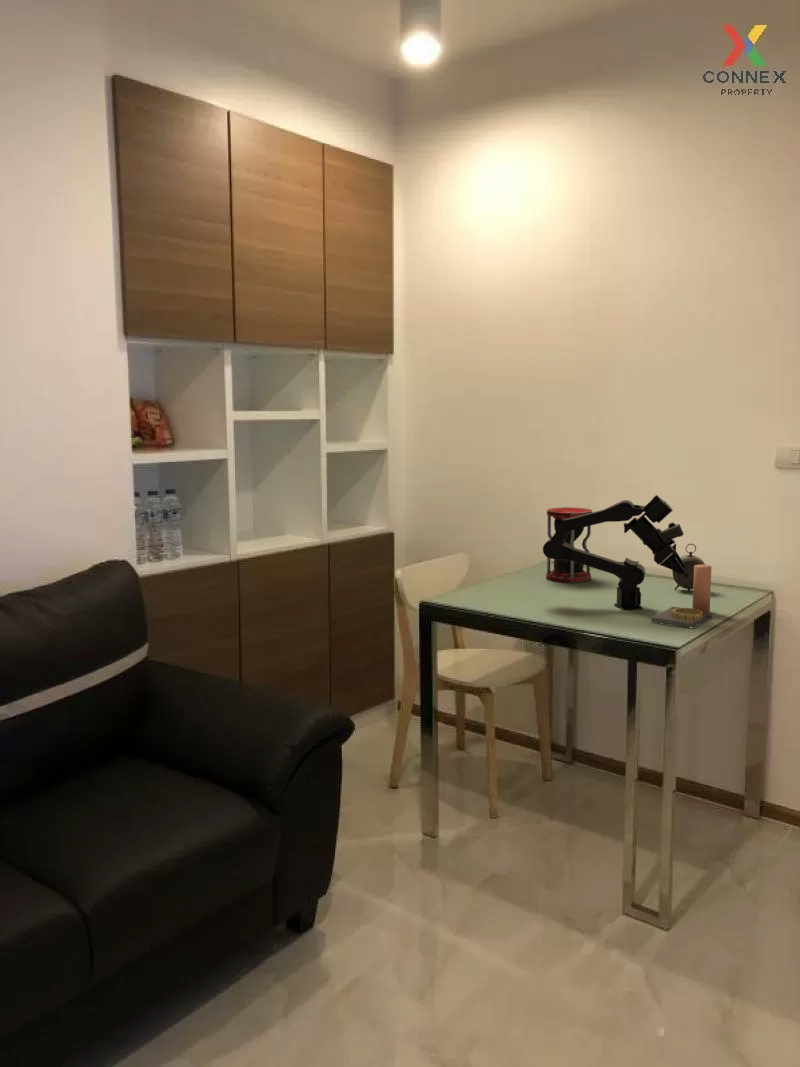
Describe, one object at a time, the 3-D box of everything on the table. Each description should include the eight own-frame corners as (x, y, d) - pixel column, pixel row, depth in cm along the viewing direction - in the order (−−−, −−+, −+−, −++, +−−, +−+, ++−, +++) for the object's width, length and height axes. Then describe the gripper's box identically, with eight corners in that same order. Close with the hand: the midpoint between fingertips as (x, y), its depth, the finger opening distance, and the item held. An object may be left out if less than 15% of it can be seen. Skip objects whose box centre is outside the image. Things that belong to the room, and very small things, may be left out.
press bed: (692, 628, 249) (692, 619, 248) (651, 622, 256) (651, 614, 256) (711, 617, 261) (712, 608, 261) (672, 611, 269) (672, 603, 268)
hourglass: (542, 574, 327) (543, 507, 324) (586, 573, 327) (587, 506, 323) (549, 583, 311) (550, 513, 308) (595, 582, 311) (596, 512, 307)
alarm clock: (705, 590, 297) (707, 542, 294) (706, 593, 291) (708, 545, 289) (671, 589, 299) (673, 541, 297) (672, 592, 294) (673, 544, 292)
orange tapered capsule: (698, 613, 265) (700, 568, 263) (689, 610, 270) (690, 565, 268) (713, 612, 266) (714, 567, 264) (703, 609, 271) (705, 564, 269)
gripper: (666, 519, 258) (705, 558, 257) (668, 511, 276) (704, 547, 274) (638, 544, 262) (676, 583, 260) (641, 535, 279) (677, 571, 278)
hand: (684, 570), depth 268 cm, fingers open, 9 cm apart
